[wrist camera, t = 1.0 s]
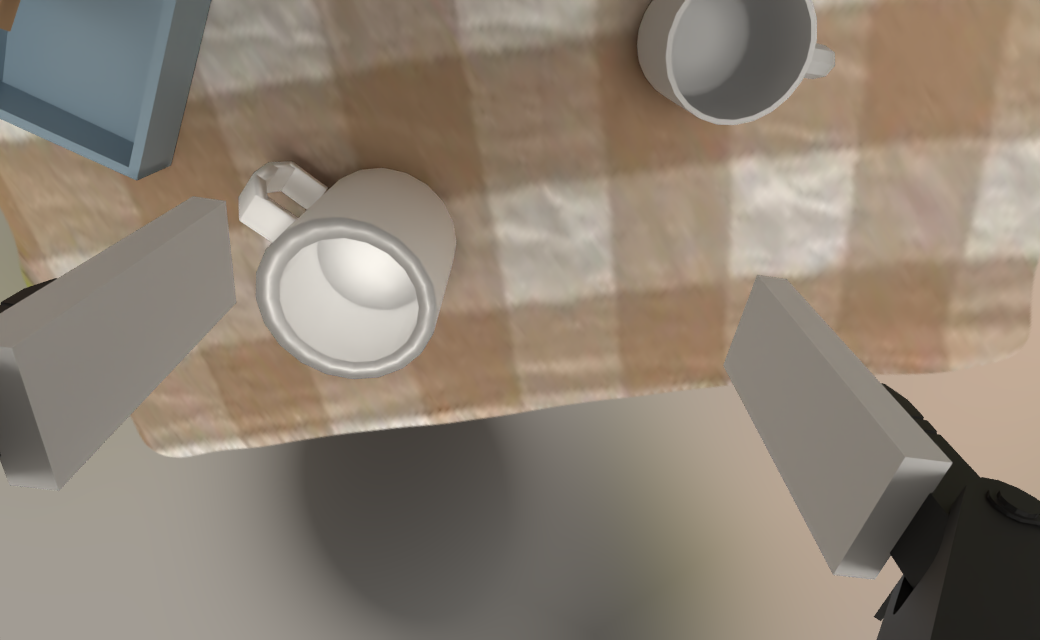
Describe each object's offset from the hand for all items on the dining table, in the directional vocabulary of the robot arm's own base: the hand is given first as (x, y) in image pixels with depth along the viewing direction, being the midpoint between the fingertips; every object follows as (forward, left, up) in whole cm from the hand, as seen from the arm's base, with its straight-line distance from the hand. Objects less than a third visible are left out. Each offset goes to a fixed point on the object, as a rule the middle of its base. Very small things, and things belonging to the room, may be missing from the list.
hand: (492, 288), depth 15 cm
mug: (+7, -10, -27) cm, 30 cm away
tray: (-6, -25, -27) cm, 37 cm away
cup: (-4, +13, -27) cm, 30 cm away
